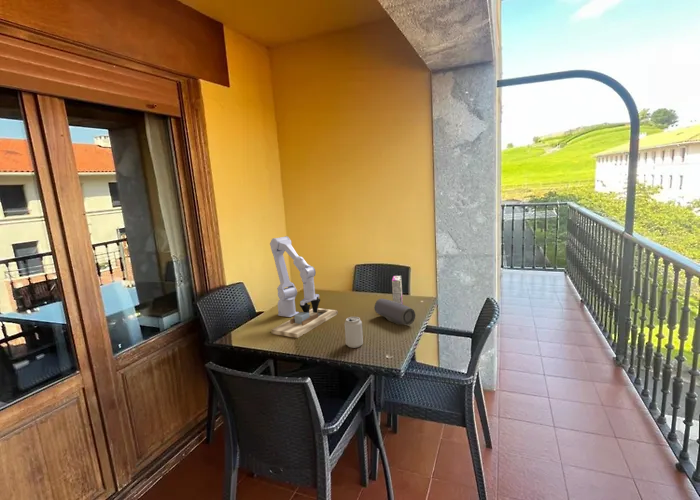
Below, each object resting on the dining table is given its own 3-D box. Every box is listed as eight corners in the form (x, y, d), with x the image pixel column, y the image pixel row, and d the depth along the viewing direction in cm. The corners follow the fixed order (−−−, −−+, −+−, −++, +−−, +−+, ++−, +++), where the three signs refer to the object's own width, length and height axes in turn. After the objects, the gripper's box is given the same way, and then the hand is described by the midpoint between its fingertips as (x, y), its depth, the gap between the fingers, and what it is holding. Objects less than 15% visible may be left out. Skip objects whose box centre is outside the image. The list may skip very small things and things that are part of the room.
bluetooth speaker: (416, 325, 176) (416, 305, 175) (402, 329, 172) (401, 309, 170) (388, 313, 196) (387, 295, 194) (374, 317, 191) (373, 299, 189)
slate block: (295, 323, 184) (294, 315, 184) (302, 319, 190) (301, 311, 189) (302, 324, 182) (302, 316, 181) (309, 320, 187) (309, 312, 187)
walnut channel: (290, 323, 184) (290, 319, 184) (305, 315, 195) (305, 311, 195) (303, 325, 180) (303, 321, 180) (318, 317, 191) (318, 313, 191)
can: (345, 342, 161) (343, 316, 159) (362, 340, 162) (360, 315, 160) (346, 349, 154) (344, 322, 152) (364, 347, 154) (362, 320, 153)
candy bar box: (394, 302, 214) (393, 275, 211) (402, 302, 213) (401, 275, 210) (392, 308, 203) (391, 280, 201) (401, 308, 202) (400, 280, 200)
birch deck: (271, 333, 178) (271, 329, 177) (314, 310, 208) (313, 307, 208) (297, 338, 170) (297, 333, 169) (337, 313, 200) (337, 310, 200)
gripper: (307, 294, 182) (309, 319, 184) (323, 286, 195) (324, 311, 197) (295, 292, 186) (298, 318, 188) (312, 285, 198) (314, 309, 200)
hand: (311, 314), depth 192 cm, fingers open, 7 cm apart
